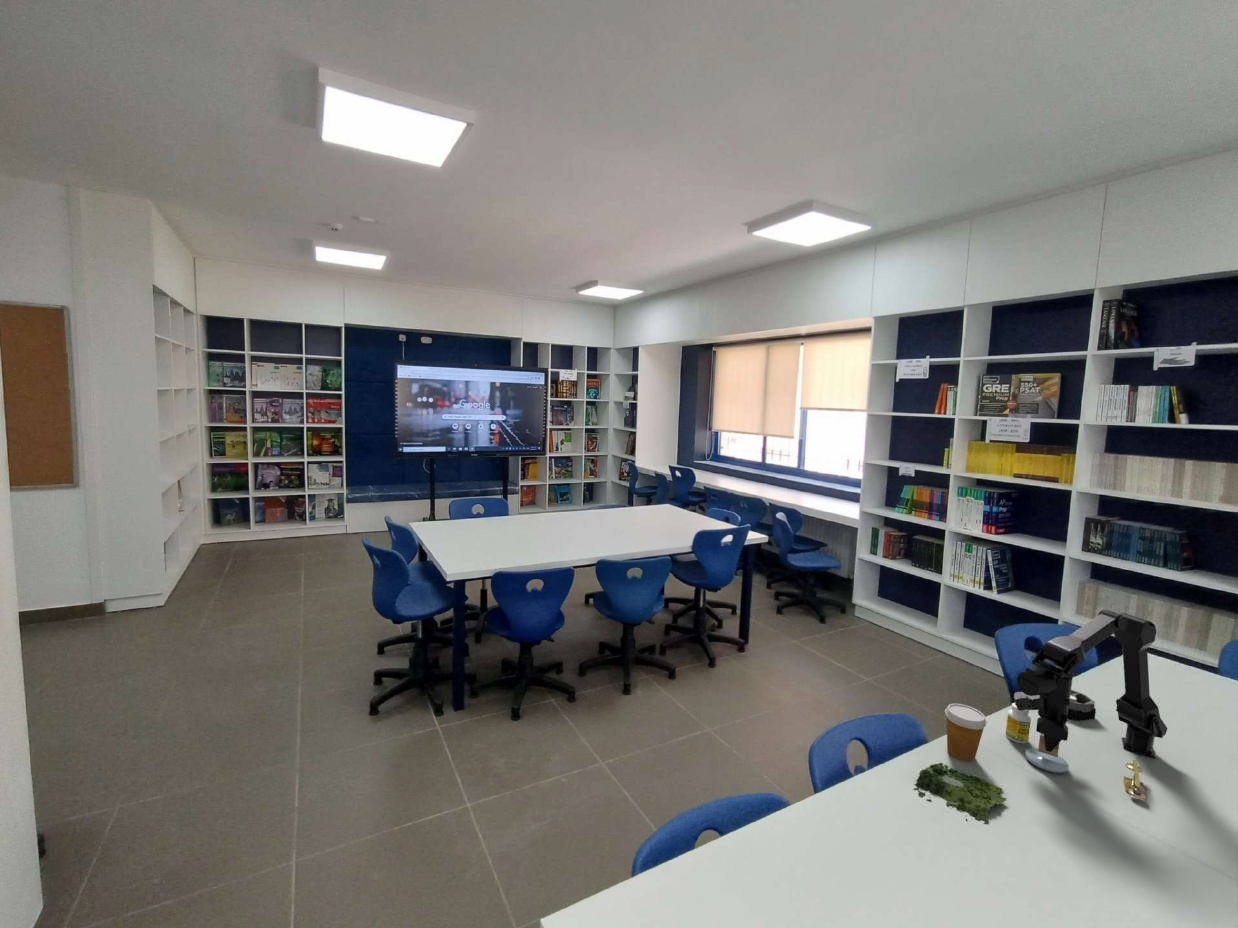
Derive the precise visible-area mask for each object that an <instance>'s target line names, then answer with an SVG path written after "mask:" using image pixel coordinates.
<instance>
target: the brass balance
mask: <svg viewBox="0 0 1238 928" xmlns="http://www.w3.org/2000/svg"><path fill="white" fill-rule="evenodd" d="M1125 767H1126V769H1128V770H1130V771H1132V772H1133V775H1132V778H1131V777H1126V776H1123V784H1124V792H1127V793H1128V794H1129V795H1131V796H1132V797H1134V798H1137V799H1140V800H1146V799H1147V796H1146V790H1145V785H1144V782H1142V781H1140V774H1139V773H1143V772H1144V771H1143V768H1142V767H1140V766H1139V765H1138V760H1136V759H1132V763H1129V762H1127V763H1125Z"/></svg>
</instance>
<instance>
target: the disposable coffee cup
mask: <svg viewBox="0 0 1238 928" xmlns="http://www.w3.org/2000/svg"><path fill="white" fill-rule="evenodd" d="M944 714H945V717H946V741H947V742H946V747H947V749H946V750H947V753H948V754H949V755H950V756H951V757H952V758H954V759H956V760H959V761H963V762H967V763H968V762H970V763H971V762H974V761H975V759H976V756H977V753H978V749H979V746H980V743H981V739H982V735H983V732H984V730H985V729H984V728H985V727H986V726H987V720H986V715H985V714H984V713H983V712H982V711H980V710H979V709H976V708H974V707H972V706H970V705H966V704H962V703H950V704H948V706H947V707H946V708H945V709H944Z"/></svg>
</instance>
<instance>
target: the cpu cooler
mask: <svg viewBox="0 0 1238 928" xmlns="http://www.w3.org/2000/svg"><path fill="white" fill-rule="evenodd" d="M1095 703H1096V701H1094V700H1093V699H1092V698H1090V697H1089V696H1088V695H1086V694H1084V693H1081V692H1079V691H1076V690H1073V689H1071V693H1070V704H1069V708H1068V719H1067V720H1070V721H1073V722H1074V721H1075V722H1080V721H1081V722H1082V721H1089V720H1091V721H1092V720H1095V719H1096V712H1097V710H1096V707H1095Z"/></svg>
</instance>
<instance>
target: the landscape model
mask: <svg viewBox="0 0 1238 928" xmlns="http://www.w3.org/2000/svg"><path fill="white" fill-rule="evenodd" d="M918 775H919V776H918V777H917V779H916V783H914V784H913V786H915V787H916V788H915V787H914V788H913V791H917V792H918V793H917V794H918V797H919V798H924V796H925V797H926V792H928V791H929V793H930V794H933V795H936V796H938V797H940V798H941V799H943V800H944V801H945V806H946V807H948V808H950V807H951V809H954V808H955V809H956V810H958V812H959V813H961V814H962V812H964V813H967V815H965V821H966V822H969V821H968V818H966V817H968V816H970V817H972V818H974V820H976V821H978V822H981V821H982V822H983V823H984V824H987V823H989V813H988V812H989V811H990V810H991V808H992V807H994V806H995V804H997V805H1000V804H1003V803H1004V802H1005V801H1007V798H1006V797H1002V796H1001V795H1000V794H999V793H1001V791H1002V790H1004V789H1003V788H1001V787H999V786H998V785H995V784H992V783H991V782H989V781H987V780H985V779H983V778H981V777H979V776H976V775H973V774H970V775H969V774H967V773H965V772H963V771H962V772H961V771H958V769H955V768H952V767H950V768H949V765H947V764H944V763H942V762H939V763H934V764H930V765H929V766H928V767H926V768H924V769H921V770H920V772H919V774H918ZM920 789H922V790H924V791H925V792H922V791H921V790H920ZM927 796H928V797H929V798H930V799H929V798H926V799H925V801H927V802H929V803H932V802H933V801H932V799H931V798H932V797H931V796H930V795H929V794H928V795H927ZM970 820H971V821H973V820H972V819H970Z"/></svg>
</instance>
